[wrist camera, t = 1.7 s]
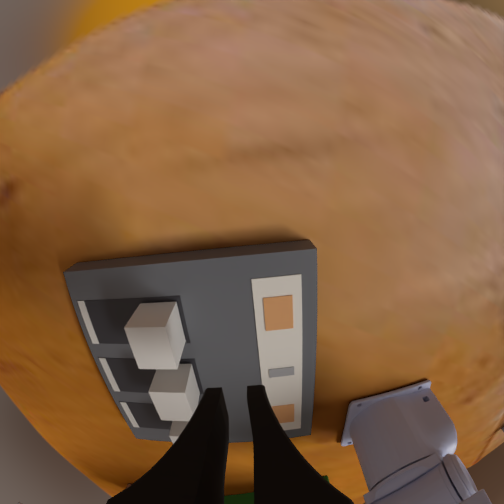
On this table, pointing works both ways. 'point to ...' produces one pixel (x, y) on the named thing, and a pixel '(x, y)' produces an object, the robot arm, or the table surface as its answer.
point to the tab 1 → (156, 335)
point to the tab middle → (175, 393)
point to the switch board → (210, 328)
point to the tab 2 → (177, 429)
